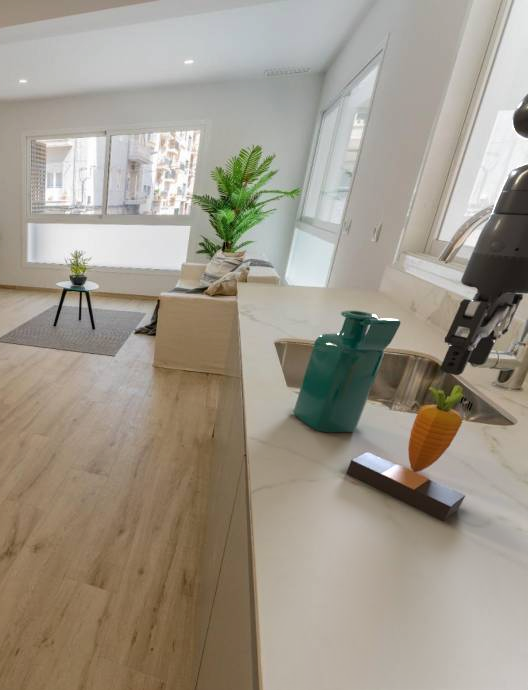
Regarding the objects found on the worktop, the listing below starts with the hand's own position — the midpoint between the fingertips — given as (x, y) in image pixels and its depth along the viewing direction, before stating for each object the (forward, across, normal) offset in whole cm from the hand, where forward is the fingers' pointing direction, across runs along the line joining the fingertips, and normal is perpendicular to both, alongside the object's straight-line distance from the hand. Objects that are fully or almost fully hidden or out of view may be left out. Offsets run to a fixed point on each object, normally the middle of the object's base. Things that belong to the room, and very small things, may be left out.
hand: (462, 367), depth 61 cm
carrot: (+18, 0, 0) cm, 18 cm away
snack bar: (+18, -8, -1) cm, 20 cm away
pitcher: (+18, +3, +15) cm, 24 cm away
